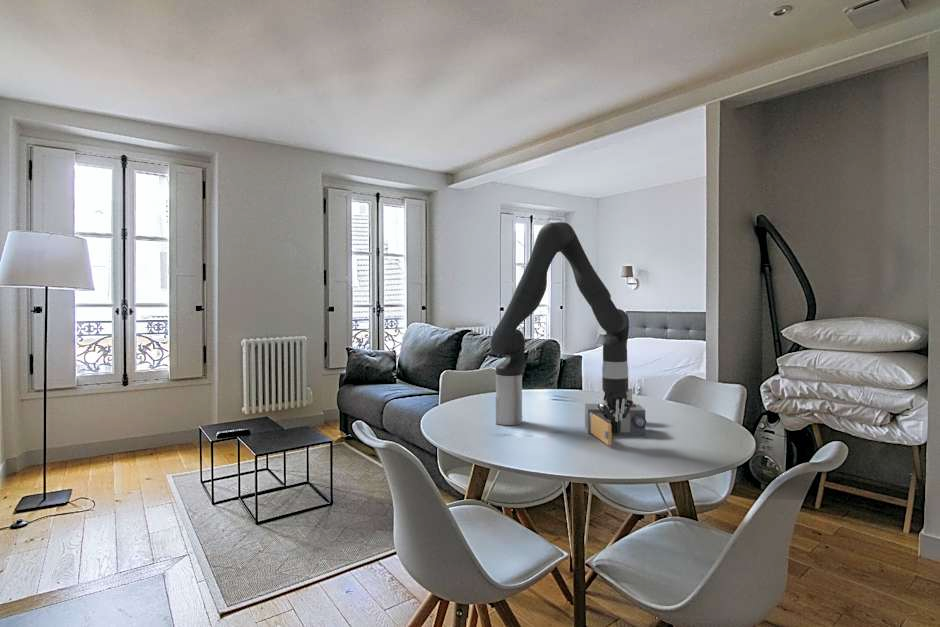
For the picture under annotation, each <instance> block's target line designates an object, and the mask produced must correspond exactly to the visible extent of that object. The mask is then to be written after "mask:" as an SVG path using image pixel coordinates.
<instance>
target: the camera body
mask: <svg viewBox="0 0 940 627" xmlns="http://www.w3.org/2000/svg"><path fill="white" fill-rule="evenodd" d="M598 404H599V403H584V428H585V431H586V433H587V434H588V435H591V434H590V412H594V415H596V416H598V417H599V418H601V419H603V420H604V421H606V422H607V423H609V424H611V421H610V420H608V419H605V417H604V416H603V414H602V412H601V411H600V409H599V408H598ZM619 410H620V409H619ZM646 427H647V419H646V409H645V408H643V406H642V405H640V404H639V403H637V404H636V403H635V402H633V404H632V406H631V408H630V410H629V412H628V414H627V416H626V418H623V419H622V421H621V431H620V433H618V434H617V435H620V434H637V435H636V436H646ZM638 434H640V435H638ZM641 434H643V435H641ZM611 435H615V434H614V433H612V431H611Z"/></svg>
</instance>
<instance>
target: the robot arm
mask: <svg viewBox="0 0 940 627" xmlns="http://www.w3.org/2000/svg"><path fill="white" fill-rule="evenodd" d="M558 253H561V255H562V256H564V258H565V259H566V260H567V261H568V263H569V265H570V268H571V269H572V273H573V277H574V280H575V283H576V286H577V288H578V290H579V292H580V293H581V294H582V296H583V298H584V299H585V301H586V302H587V304H588V305H589V306H590V307H591V310H592V313H593V314H594V317H595V319H596V321H597V323H598V325H599V326H600V327H601V329H603V331H605V341H604V343H603V345H602V370H601V373H602V374H601V376H602V378H601V379H602V391H603V393H604V395H603V401H602V402H601V403H597V404H598V408H599V409H600V411H601V412H602V414H603V416H604V417H605V419H608V420H610V421H611V431H612V433H614V434H613V435H619V434H618V433H620V431H621V421H622V419H623V418H626V416H627V414H628V412H629V410H630V408H631V406H632V404H633V403H634V402H633V399H632V400H629V399H628V398H627V394H626V392H628V390H629V388H630V387H629V364H628V348H627V347H628V338H629V331H630V330H629V329H630V320H629V316H628V314H627V312H625V311H624V310H622V309H620V308H617V306H616V305H615V304H614V302H613V300H612V298H611V297H612V296H611V293H610V291H609V290H608V288H607V286H606V284H604V282H603V281H602V280H601V278H600V277H599V275H598V273H597V271H596V270H595V268H594V267H593V265H592V264H591V262H590V260H589V258H588V257H587V254H586V252H585V250H584V248H583V246H582V244H581V242H580V239H579V237H578V236H577V234H576V232H575V230H574V228H573V227H572V226H571V225H570V224H569V223H567V222H564V221H558V222H549V223H546V224H545V225H543V226H542V227H541V228H540V230H539V231H538V232H537V236H536V239H535V242H534V244H533V249H532V251H531V254H530V257H529V259H528V262H527V264H526V266H525V269H524V271H523V274H522V276H521V277H520V279H519V282H518V284H517V286H516V288H515V291H514V292H513V295H512V297H511V300H510V302H509V304H508V306H507V308H506V310H505V312H504V315H503V316H502V317H501V320H500V321H499V323H498V324H497V326H496V328H495V329H494V331H493V333H492V336H491V339H490V348H491V351H492V353H493V354H494V355H496V356H499V357H500V356H502V357H503V356H505V359H504V360H503V361H502V362H501V363H500V364H498V365H496V367H495V424H496V425H503V426H517V425H520V424H522V423H523V369H524V366H525V351H526V350H525V349H526V342H525V336H524V334H523V331H521V330H520V329H518V327H519V326H520V325H521V324H522V323H523V322H524V321H526V319H528V318H529V317H531V315H532V314H533V313H534V312H535V311H536V310H537V309H538V307H539V306H540V304H541V303H542V302H541V301H542V300H543V298H544V295H545V294H546V290H547V286H548V285H547V284H548V283H547V282H548V270H549V268H550V267H551V264H552V262H553V260H554V258H555V257H556V256H557V254H558ZM619 409H620V410H619Z"/></svg>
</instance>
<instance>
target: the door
mask: <svg viewBox="0 0 940 627" xmlns="http://www.w3.org/2000/svg"><path fill="white" fill-rule="evenodd" d="M589 435H594V437H596V438H597V439H598V440H600V441H602V442H603V444H604V443H605V445H607V446H612V434H611V424H609V423H607V422H606V421H604V420H603V419H601V418H599V417H598V416H596V415H594V412H590V434H589Z"/></svg>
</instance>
